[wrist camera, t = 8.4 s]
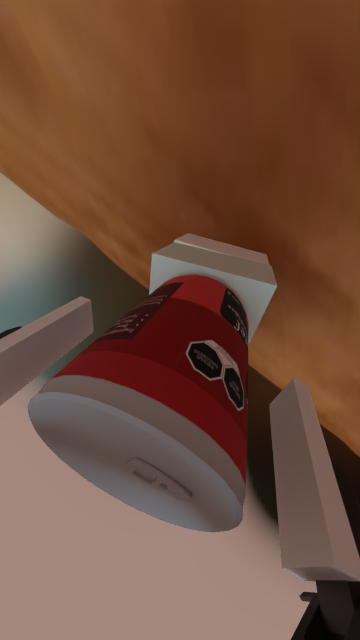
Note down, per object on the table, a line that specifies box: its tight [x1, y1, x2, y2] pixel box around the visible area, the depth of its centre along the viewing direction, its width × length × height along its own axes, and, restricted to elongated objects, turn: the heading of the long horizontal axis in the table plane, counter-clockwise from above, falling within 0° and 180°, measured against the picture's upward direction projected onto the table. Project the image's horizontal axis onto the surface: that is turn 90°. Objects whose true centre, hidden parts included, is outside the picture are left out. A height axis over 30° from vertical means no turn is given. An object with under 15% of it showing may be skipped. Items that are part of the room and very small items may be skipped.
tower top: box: [149, 242, 277, 345], centre depth 18 cm, size 9×9×5 cm
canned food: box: [28, 275, 249, 532], centre depth 11 cm, size 8×8×11 cm
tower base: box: [174, 233, 269, 265], centre depth 22 cm, size 9×9×5 cm
